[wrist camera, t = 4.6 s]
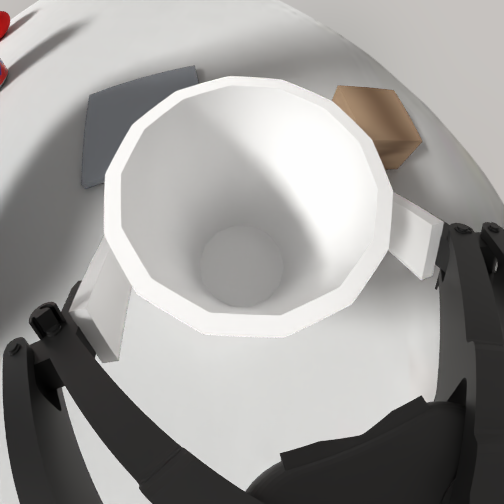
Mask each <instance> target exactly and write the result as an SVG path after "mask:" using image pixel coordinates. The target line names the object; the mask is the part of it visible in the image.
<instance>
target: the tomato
mask: <svg viewBox="0 0 504 504" xmlns="http://www.w3.org/2000/svg"><path fill="white" fill-rule="evenodd" d="M9 25H10V16H9V15H8V13H6V12H4V11H0V39H1V38H2V37H3V36H4V34H5V33H6V32H7V30H8V28H9Z"/></svg>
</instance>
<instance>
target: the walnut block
mask: <svg viewBox="0 0 504 504" xmlns="http://www.w3.org/2000/svg"><path fill="white" fill-rule="evenodd" d="M332 101H333V102H334V103H335V104H336V105H337V106H338V107H339V108H341V109H342V110H343V111H344V112H345V113H346V114H347V115H348V116H349V117H350V118H351V119H352V120H353V121H354V122H355V123H356V124H357V125H358V126H359V127H360V128H361V129H362V130H363V131H364V132H365V133H366V134H367V135H368V136H369V137H370V138H371V139H372V141H373V143H374V145H375V148H376V150H377V152H378V155H379V157H380V159H381V162H382V164H383V166H384V169H398V168H399V167H400V166H401V165H402V164H403V162H404V161H405V160H406V159H407V158H408V157H409V156H410V155H411V154H412V153H413V151H414V150H415V149H416V148H417V147H418V146H419V145H420V144H421V143H422V140H421V138H420V136H419V134H418V132H417V130H416V128H415V126H414V124H413V122H412V120H411V119H410V117H409V115H408V113H407V111H406V110H405V108H404V106H403V104H402V103H401V101H400V99H399V98H398V96H397V94H396V93H395V91H394V90H387V89H378V88H368V87H355V86H338V87H337V89H336V92H335V94H334V97H333V99H332Z"/></svg>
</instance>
